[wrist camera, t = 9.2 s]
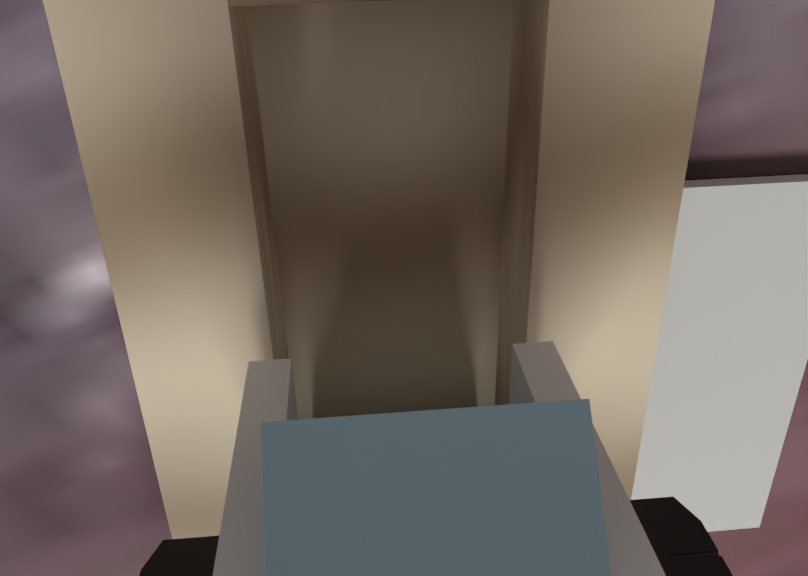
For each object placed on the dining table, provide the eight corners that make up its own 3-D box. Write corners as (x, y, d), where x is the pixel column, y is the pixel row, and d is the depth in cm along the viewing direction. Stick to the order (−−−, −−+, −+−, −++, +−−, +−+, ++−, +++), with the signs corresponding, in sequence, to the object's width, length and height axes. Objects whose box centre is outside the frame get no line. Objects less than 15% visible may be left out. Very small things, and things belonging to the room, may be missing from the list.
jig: (158, -117, 18) (16, -113, 10) (559, -127, 19) (737, -131, 11) (264, 551, 29) (238, 815, 21) (514, 531, 30) (583, 778, 22)
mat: (562, 532, 30) (566, 543, 30) (601, 184, 23) (607, 192, 23) (752, 516, 31) (759, 527, 30) (847, 172, 24) (859, 178, 23)
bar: (260, 422, 9) (273, 795, 8) (589, 398, 9) (632, 758, 8) (328, 435, 26) (335, 557, 25) (443, 427, 26) (453, 547, 25)
